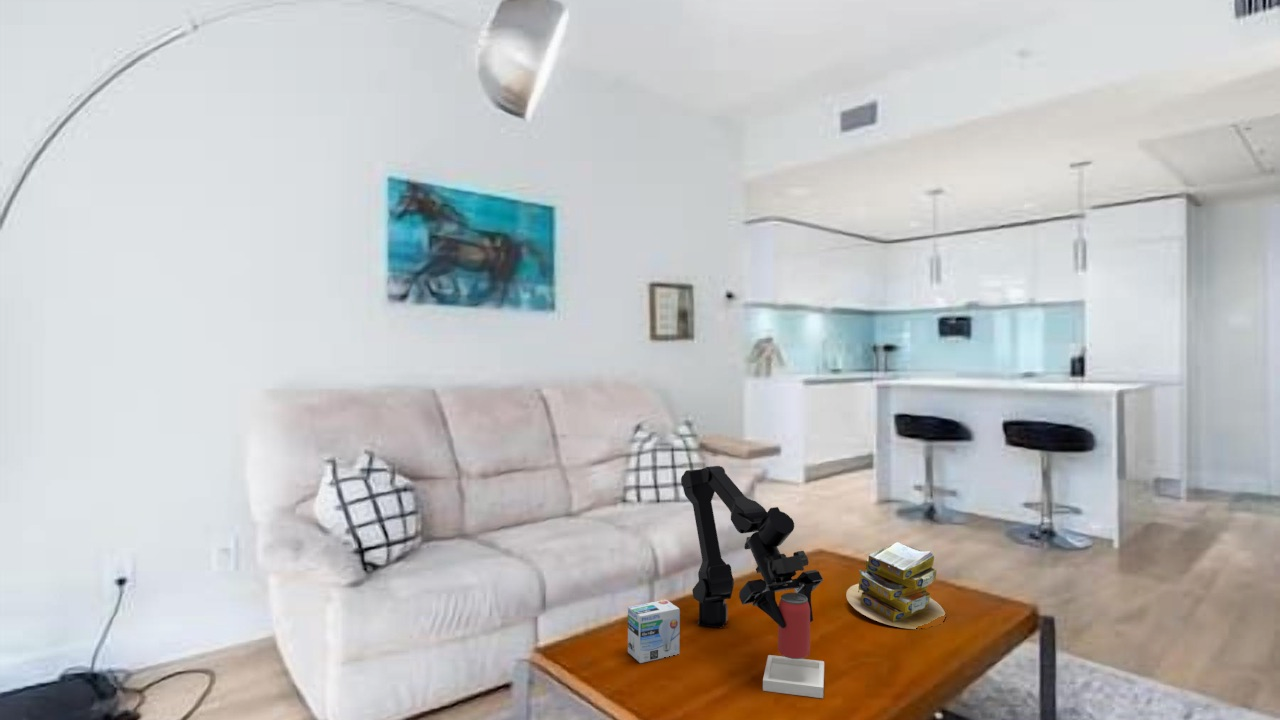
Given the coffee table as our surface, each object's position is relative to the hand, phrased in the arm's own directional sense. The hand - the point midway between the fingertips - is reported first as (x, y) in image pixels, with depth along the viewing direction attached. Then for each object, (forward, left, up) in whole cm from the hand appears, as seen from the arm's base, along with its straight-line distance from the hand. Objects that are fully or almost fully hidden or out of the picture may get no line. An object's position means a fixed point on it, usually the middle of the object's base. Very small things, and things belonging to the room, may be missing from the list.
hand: (798, 624), depth 147 cm
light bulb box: (-33, +6, -13) cm, 36 cm away
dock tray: (-1, +1, -12) cm, 12 cm away
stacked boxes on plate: (+23, +47, -13) cm, 54 cm away
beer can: (-1, +1, -7) cm, 7 cm away
